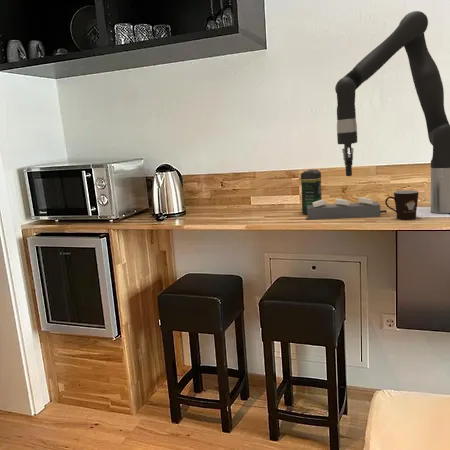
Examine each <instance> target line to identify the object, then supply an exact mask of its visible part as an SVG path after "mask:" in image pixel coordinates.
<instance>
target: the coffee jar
mask: <svg viewBox="0 0 450 450" xmlns="http://www.w3.org/2000/svg"><path fill="white" fill-rule="evenodd" d="M300 184H301V186H300V187H301V212H302V214H303V215H307V205H313V202H316V201H319V200H322V199H323V198H322V172H321V171H320V170H318V169H308V170H306V171H303V172H301V173H300Z"/></svg>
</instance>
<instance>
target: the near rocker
mask: <svg viewBox="0 0 450 450" xmlns="http://www.w3.org/2000/svg"><path fill="white" fill-rule="evenodd" d="M373 202H375V201H374V199H373V198H368V197H361V196H359V197H358V203H367V204H372V205H373Z"/></svg>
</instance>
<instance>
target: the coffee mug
mask: <svg viewBox="0 0 450 450" xmlns="http://www.w3.org/2000/svg"><path fill="white" fill-rule="evenodd" d="M419 192H420V191H419V190H414V189H413V190H411V189H407V190H406V189H405V190H396V191H393V196H388V197H386V199H385V205H386V206H387V207H388V209H390V210H392V211H393V212H395V213H396V218H397V219H398V220H399V221H413V220H415V219H416V218H417V217H416V216H417V209H418V199H419ZM389 199H393V200H394V204H395V209H394V208H393V207H391V206H390V205H389V204H388V200H389Z"/></svg>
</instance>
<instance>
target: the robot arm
mask: <svg viewBox="0 0 450 450" xmlns="http://www.w3.org/2000/svg"><path fill="white" fill-rule="evenodd" d="M428 25H429V19H428V17H427V15H426V13H424V12H423V11H420V10H415V11H411V12H408V13H407V14H405V16H403V17H402V19H401V20H400V22H399V24H398V26H397V27H396V28H395V29H394V31H393V32H392V33H390V35H389V36H387V38H386V39H384V40H383V41H382V42H381V43H380V44H379V45H377V46H376V47H375V48H373V50H371V51H370V52H369V53H368V54H367V55H365V56H364V57H363V58H362V59H361V60H360V61H359V62H358V63H357V64H355V66H354V67H353V68H352V69H351V70H349V72H348V73H347V74H345V75H344V76H343V77H341V78H340V79H338V81H337V82H336V85H335V88H334V90H335V93H336V103H337V105H336V120H337V121H336V138H337V144H338V145H343V146H344V147H343V148H342V149H341V151H342V155H343V156H342V158H343V162H344V166H345V176H346V177H352V176H353V169H352V168H353V165H354V164H353V161H354V148H353V147H352V144H357V143H358V126H357V125H358V124H357V117H356V116H357V114H356V113H357V112H356V104H355V103H356V90H357V89H358V88H359V87H360V86H361V85H362V84H364V82H367V80H369V79H370V78H371V77H373V76H374V74H376V73H378V71H379V70H380V69H381V68H382V67H384V65H385V64H386V63H388V61H389V60H390V59H391V58H392V57H393V56H394V55H395V54H397V53H398V51H400V50H401V49H402V48H404V51H405V52H406V55H407V59H408V64H409V69H410V73H411V76H412V81H413V86H414V89H415V91H416V94H417V98H418V100H419V101H418V102H419V104H420V107H421V110H422V112H423V115H424V118H425V122H426V131H427V136H428V140H429V143H430V145H432V158H431V160H430V212H431V213H432V214H433V213H434V214H450V122H449V120H448V118H447V114H446V111H445V93H444V92H445V91H444V86H443V81H442V77H441V74H440V71H439V68H438V65H437V63H436V62H435V60H434V59H433V57H432V55H431V53H430V52H429V49H428V46H427V41H426V37H425V32H426V31H427V29H428Z"/></svg>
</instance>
